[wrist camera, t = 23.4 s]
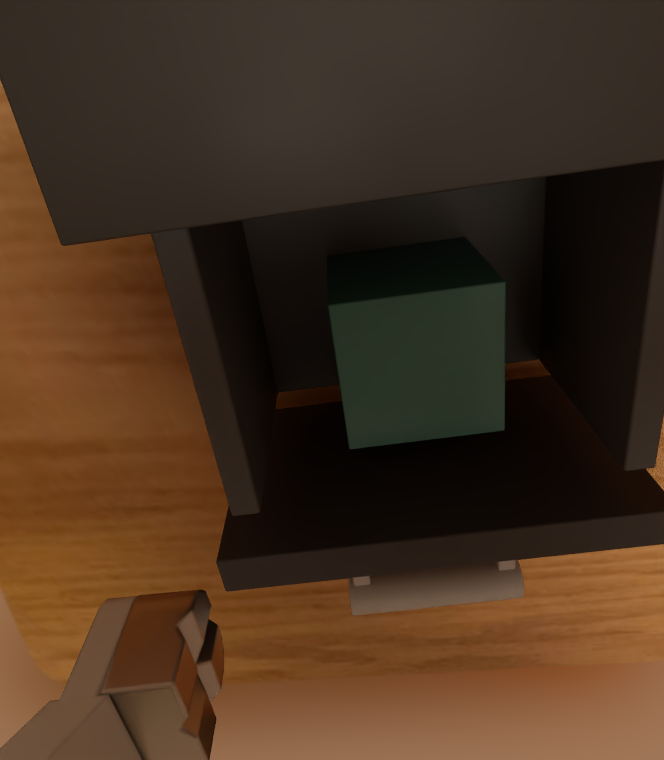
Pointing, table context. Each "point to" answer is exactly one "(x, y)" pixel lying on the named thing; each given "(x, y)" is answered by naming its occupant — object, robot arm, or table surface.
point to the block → (418, 342)
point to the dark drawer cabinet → (318, 102)
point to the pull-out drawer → (444, 455)
